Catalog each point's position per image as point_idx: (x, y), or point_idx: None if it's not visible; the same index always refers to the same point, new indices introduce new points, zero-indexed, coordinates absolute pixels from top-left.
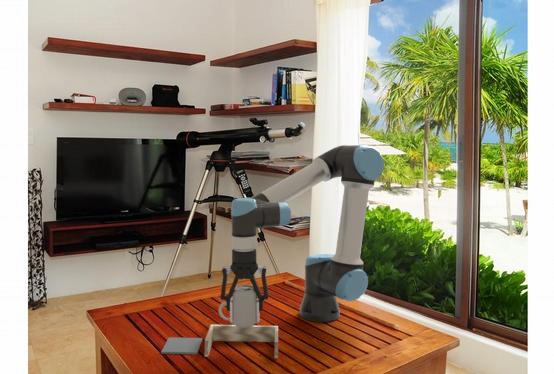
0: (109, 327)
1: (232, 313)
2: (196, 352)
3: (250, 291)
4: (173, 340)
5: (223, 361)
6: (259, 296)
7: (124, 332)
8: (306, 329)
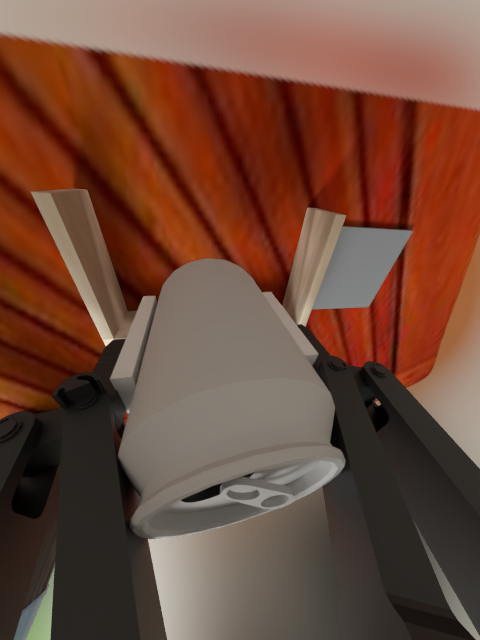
0: (433, 337)
1: (276, 312)
2: None
3: (169, 472)
4: (365, 293)
5: (266, 167)
6: (87, 428)
7: (422, 323)
8: (65, 379)
